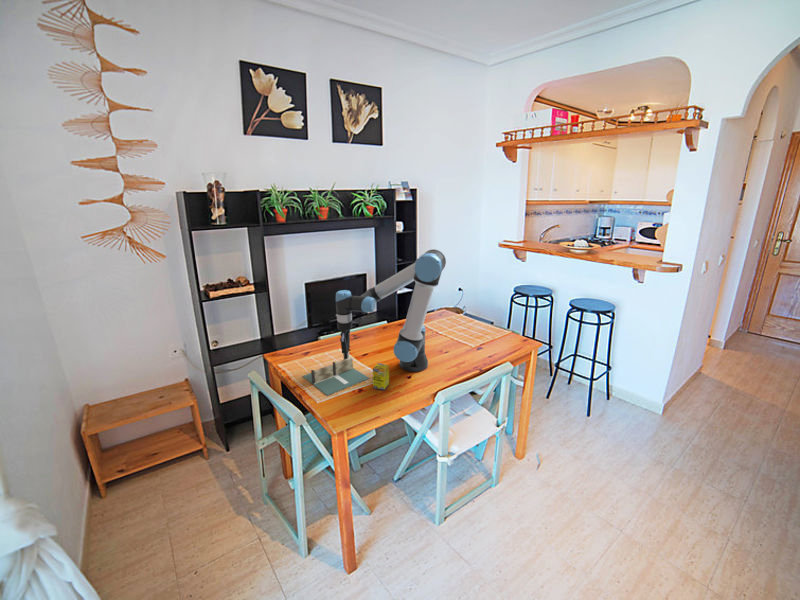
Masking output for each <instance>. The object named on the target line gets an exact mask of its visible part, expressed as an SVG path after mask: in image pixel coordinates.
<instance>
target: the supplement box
mask: <svg viewBox="0 0 800 600" xmlns="http://www.w3.org/2000/svg"><path fill="white" fill-rule="evenodd" d="M389 386H390V365H389V364H385V363H384V364H383V363H380V362H377V363H376V364H375V365H374V366H373V367H372V387H373V388H372V389H375V390H380V391H383V392H384V391H386V390H387V388H388V387H389Z"/></svg>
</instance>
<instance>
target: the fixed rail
mask: <svg viewBox="0 0 800 600" xmlns="http://www.w3.org/2000/svg"><path fill="white" fill-rule="evenodd" d="M332 365H333V364H329V365H326V366H323V367H321V368H318V369H315V370H314V369H311V370H310V373H311V374H312V383H311V385H313V384H314V383H317V382H320V381H322V380H325V379H328V378H330V377H333V366H332Z"/></svg>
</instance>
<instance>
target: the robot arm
mask: <svg viewBox="0 0 800 600" xmlns="http://www.w3.org/2000/svg"><path fill="white" fill-rule="evenodd" d="M446 262H447V260H446V256H445V254H444V253H443V252H442V251H440V250H438V249H432V248H431V249H428V250H427V251H425V252H424V253H423V254H422V255H420V256H419V257H418V258H417V259H415V262H413V263H412V264H410V265H408V266H407V267H405V268H403V269H402V270H400V271H398V272H397V273H395V274H394V275H392V276H390V277H388V278H387V279H385V280H383V281H381V282H379V283H378V284H376V285H375V286H374V287H371V288H369V289H367V290H366V291H365V292H364V293H363V294H361V295H360V296H359V295H352V292H351V291H350V290H347V289H344V290H343V289H342V290H338V291H337V292H335V308H336V309H335V310H336V314H335V317H336V321H337V322H336V326H337V327H336V328H337V329H338V330H339V331H341V332H340V338H339V341H340V346H341V347H340V348H341V354H342V355H343V356H342V357H343V360H344V359H347V358H350V352H351V349H350V347H351V345H350V343H351V341H350V339H351V337H350V336H351V334H350V333H351V330H352V328H353V313H352V312H360V313H373V312H374V311H375V309H376V303H377V302H380V301H381V300H382V299H385V298H386V297H388V296H390V295H392V294H394V293H396V292H397V291H399V290H400V289H402V288H404V287H406V286H408V285H410V284H411V283H413V282H415V284H414V288H413V292H412V295H411V299H410V303H409V307H408V310H407V314H406V318H405V322H404V325H403V326H402V328H400V329H399V332H398V335H397V336H398V337H397V340H396V343H394V345H393V354H394V356H395V357H396V359H397V360H399V368H401V369H402V370H403V371H406V372H413V373H414V372H421V371H424V370H427V368H428V365H429V359H428V358H427V354H426V327H425V325H424V324H425V320H426V316H427V314H428V313H427V312H428V310H429V309H428V308H429V306H430V302H431V299H432V294H433V292H434V288H435V287H438V286H439V282H440V279H441V276H442V272H443V270H444V269H445V267H446V264H447V263H446Z"/></svg>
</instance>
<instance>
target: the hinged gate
mask: <svg viewBox="0 0 800 600" xmlns="http://www.w3.org/2000/svg"><path fill="white" fill-rule="evenodd" d="M332 365H333V375H337V374H340V373H343V372H345V371H348V370H351V369H353V368H354V366H353V365H354V363H353V358H352V357H350V356H349V358H347V359H344V358H343V360H338V361H333V362H332Z"/></svg>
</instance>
